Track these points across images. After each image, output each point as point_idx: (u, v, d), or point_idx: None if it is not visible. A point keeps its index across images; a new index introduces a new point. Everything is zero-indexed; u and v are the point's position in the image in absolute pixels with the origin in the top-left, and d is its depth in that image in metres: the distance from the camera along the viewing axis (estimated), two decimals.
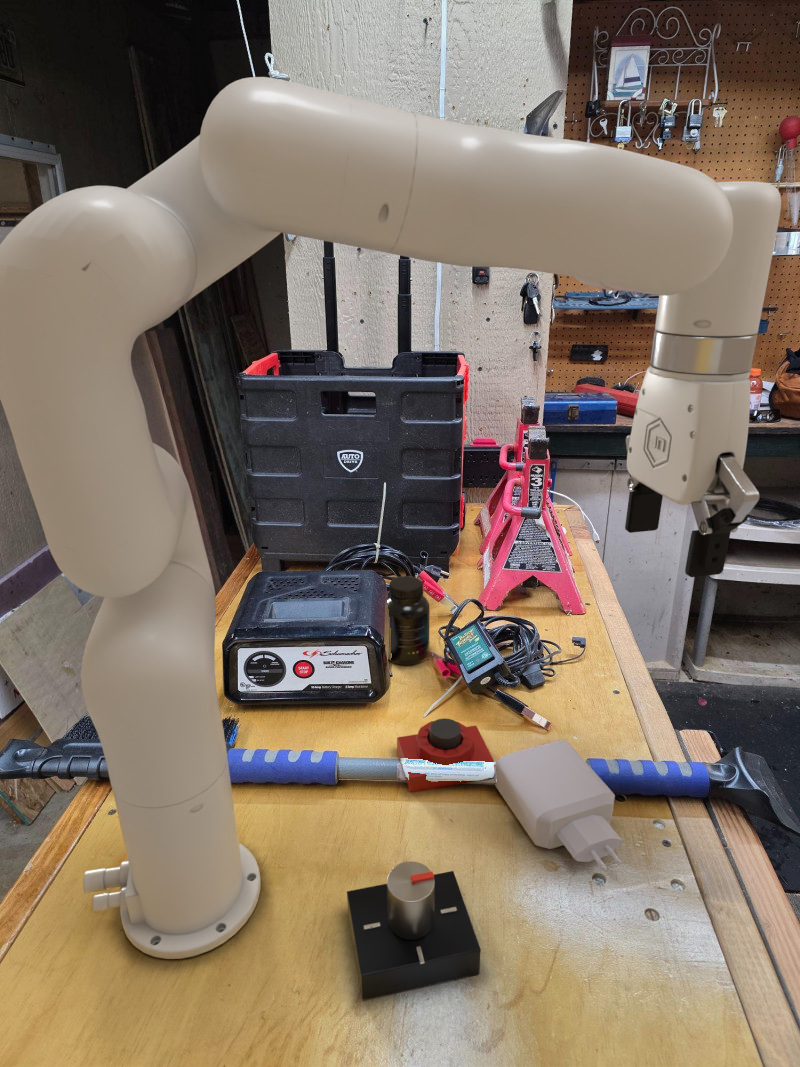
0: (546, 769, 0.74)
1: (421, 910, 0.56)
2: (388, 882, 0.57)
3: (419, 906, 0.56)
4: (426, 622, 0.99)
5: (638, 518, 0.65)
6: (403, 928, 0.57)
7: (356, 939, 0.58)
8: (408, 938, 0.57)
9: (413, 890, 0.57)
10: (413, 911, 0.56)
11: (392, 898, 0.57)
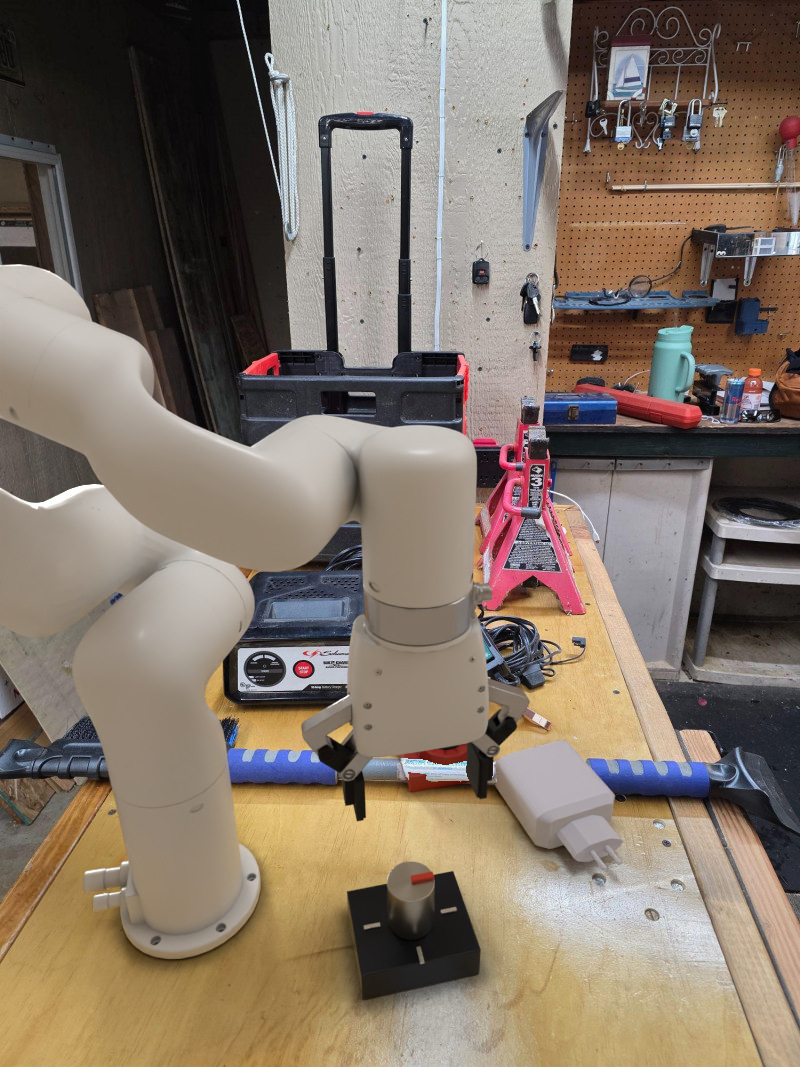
0: (546, 769, 0.74)
1: (421, 910, 0.56)
2: (388, 882, 0.57)
3: (419, 906, 0.56)
4: None
5: (469, 766, 0.55)
6: (403, 928, 0.57)
7: (356, 939, 0.58)
8: (408, 938, 0.57)
9: (413, 890, 0.57)
10: (413, 911, 0.56)
11: (392, 898, 0.57)
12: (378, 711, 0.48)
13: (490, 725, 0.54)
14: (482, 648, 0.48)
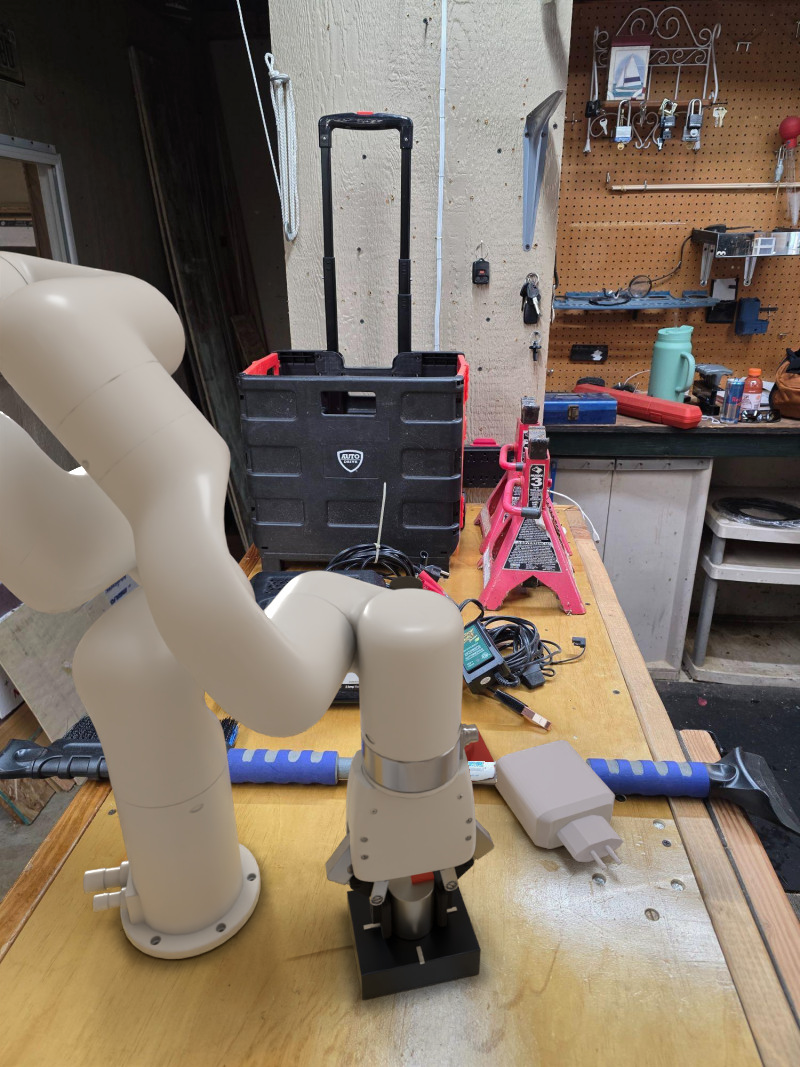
0: (546, 769, 0.74)
1: (421, 910, 0.56)
2: None
3: (419, 906, 0.56)
4: None
5: None
6: (403, 928, 0.57)
7: (356, 939, 0.58)
8: (408, 938, 0.57)
9: (413, 890, 0.57)
10: (413, 911, 0.56)
11: (392, 898, 0.57)
12: (374, 844, 0.52)
13: None
14: (469, 786, 0.52)
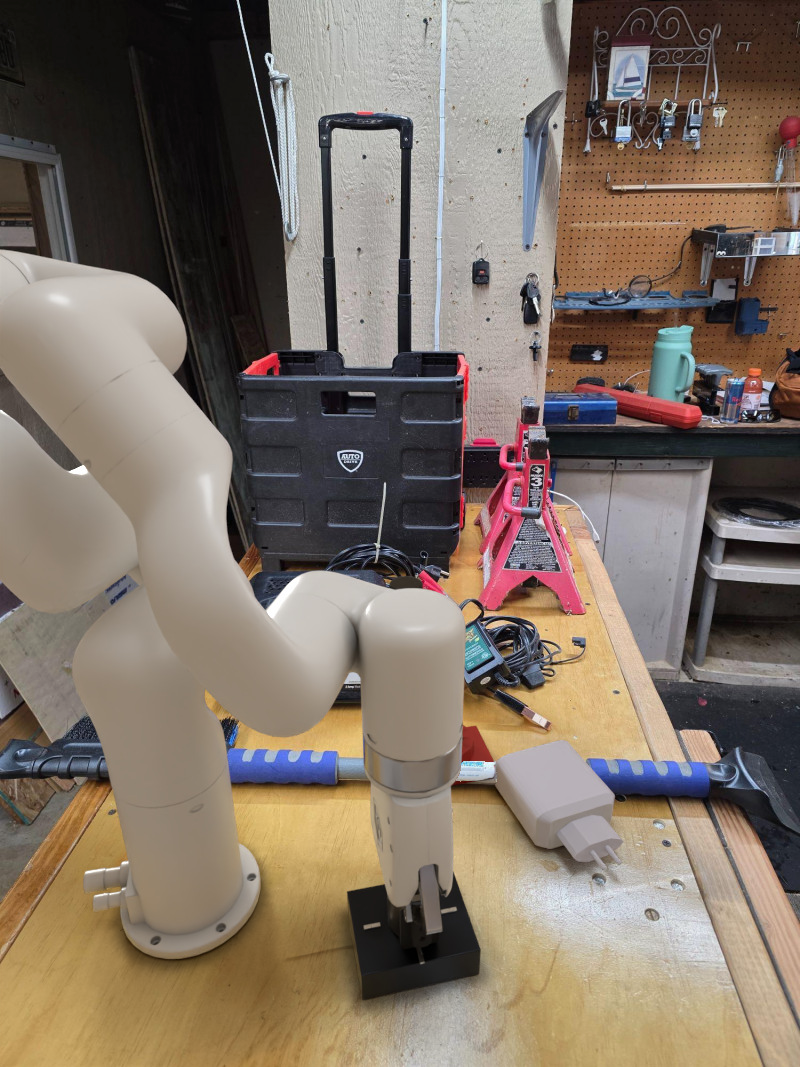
0: (546, 769, 0.74)
1: None
2: None
3: None
4: None
5: None
6: None
7: (356, 939, 0.58)
8: None
9: None
10: None
11: None
12: None
13: None
14: None
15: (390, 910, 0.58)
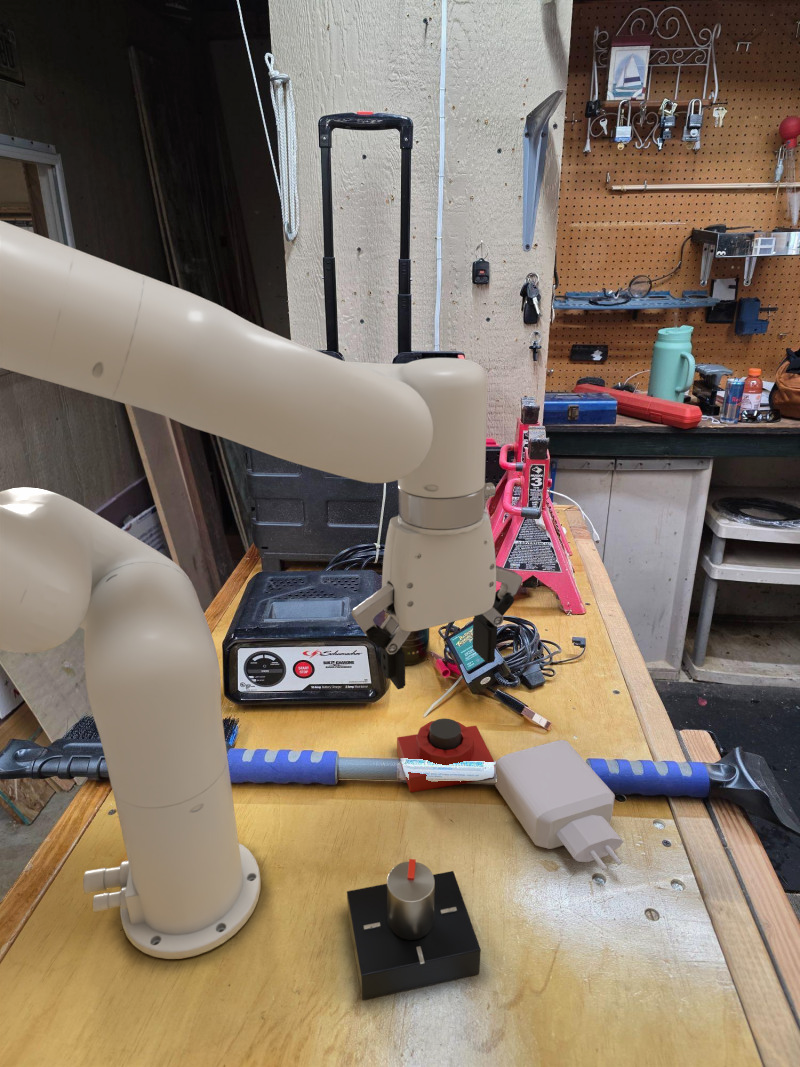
0: (546, 769, 0.74)
1: None
2: (406, 899, 0.56)
3: None
4: None
5: (476, 640, 0.69)
6: (430, 920, 0.58)
7: (356, 939, 0.58)
8: (432, 925, 0.58)
9: (422, 881, 0.57)
10: None
11: (420, 904, 0.56)
12: (418, 589, 0.60)
13: None
14: None
15: (390, 910, 0.58)
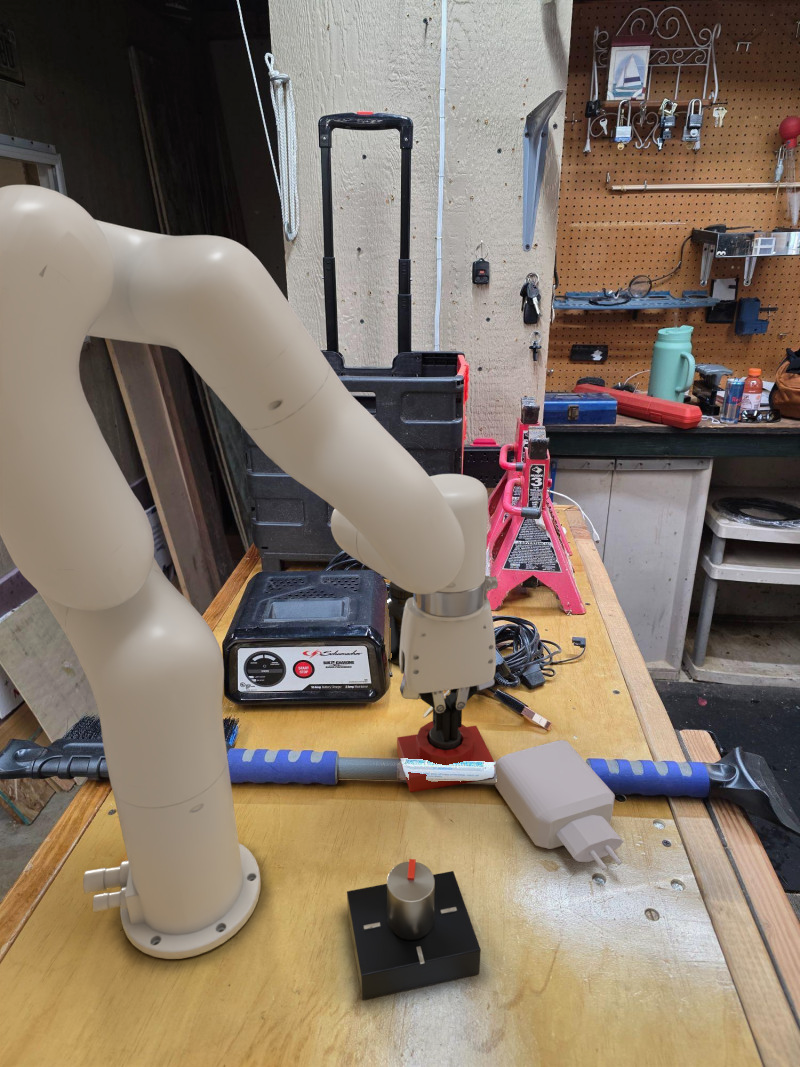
0: (546, 769, 0.74)
1: None
2: (406, 899, 0.56)
3: None
4: None
5: None
6: (430, 920, 0.58)
7: (356, 939, 0.58)
8: (432, 925, 0.58)
9: (422, 881, 0.57)
10: None
11: (420, 904, 0.56)
12: (422, 661, 0.72)
13: None
14: (491, 619, 0.73)
15: (390, 910, 0.58)
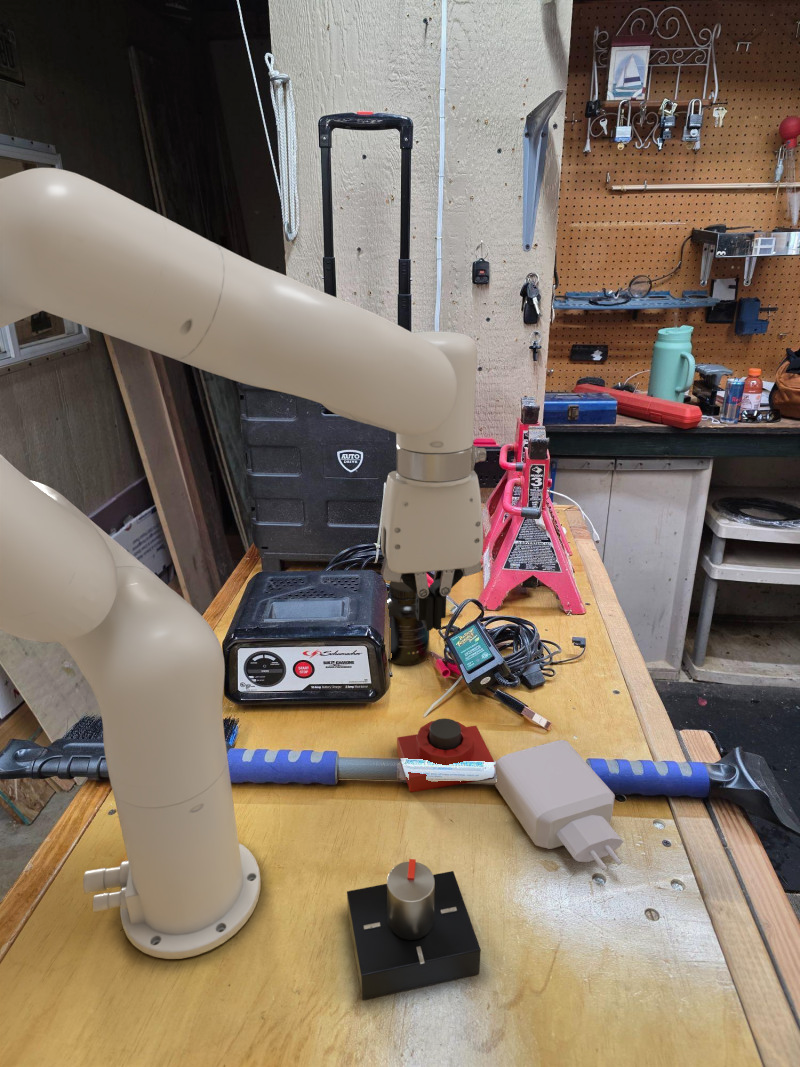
0: (546, 769, 0.74)
1: None
2: (406, 899, 0.56)
3: None
4: None
5: None
6: (430, 920, 0.58)
7: (356, 939, 0.58)
8: (432, 925, 0.58)
9: (422, 881, 0.57)
10: None
11: (420, 904, 0.56)
12: (404, 534, 0.68)
13: None
14: (478, 492, 0.68)
15: (390, 910, 0.58)
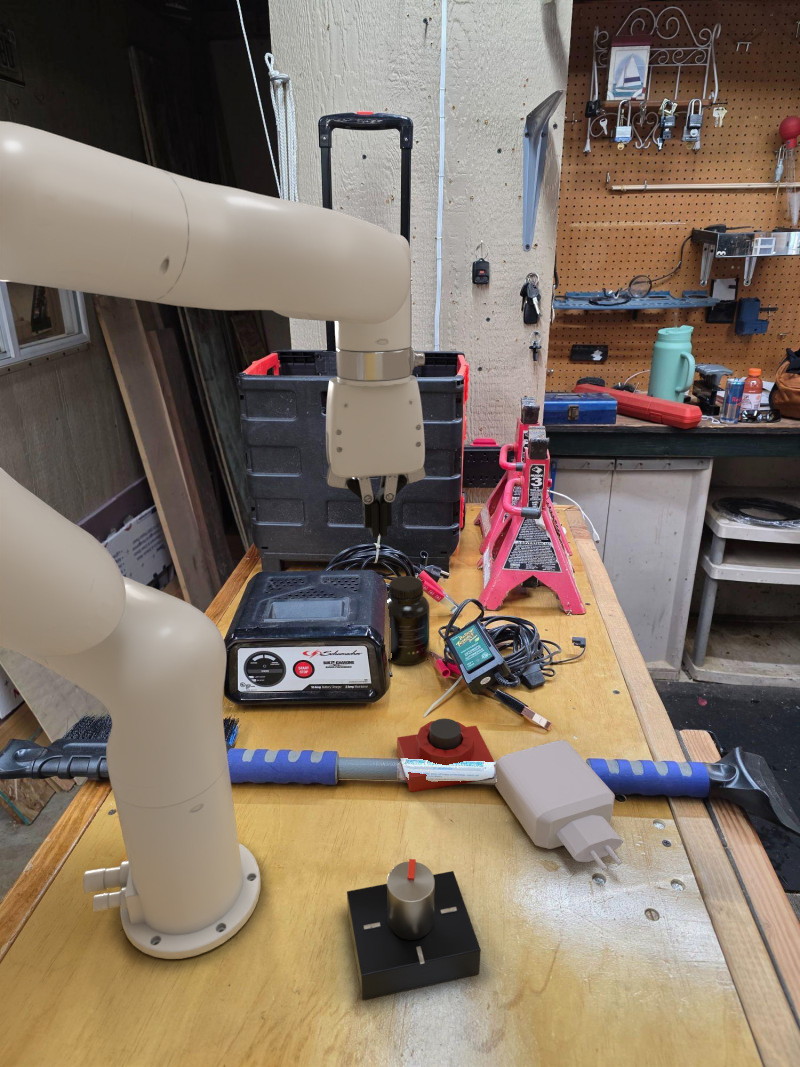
0: (546, 769, 0.74)
1: None
2: (406, 899, 0.56)
3: None
4: (426, 622, 0.99)
5: None
6: (430, 920, 0.58)
7: (356, 939, 0.58)
8: (432, 925, 0.58)
9: (422, 881, 0.57)
10: None
11: (420, 904, 0.56)
12: (346, 437, 0.69)
13: None
14: (418, 395, 0.70)
15: (390, 910, 0.58)
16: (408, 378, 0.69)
